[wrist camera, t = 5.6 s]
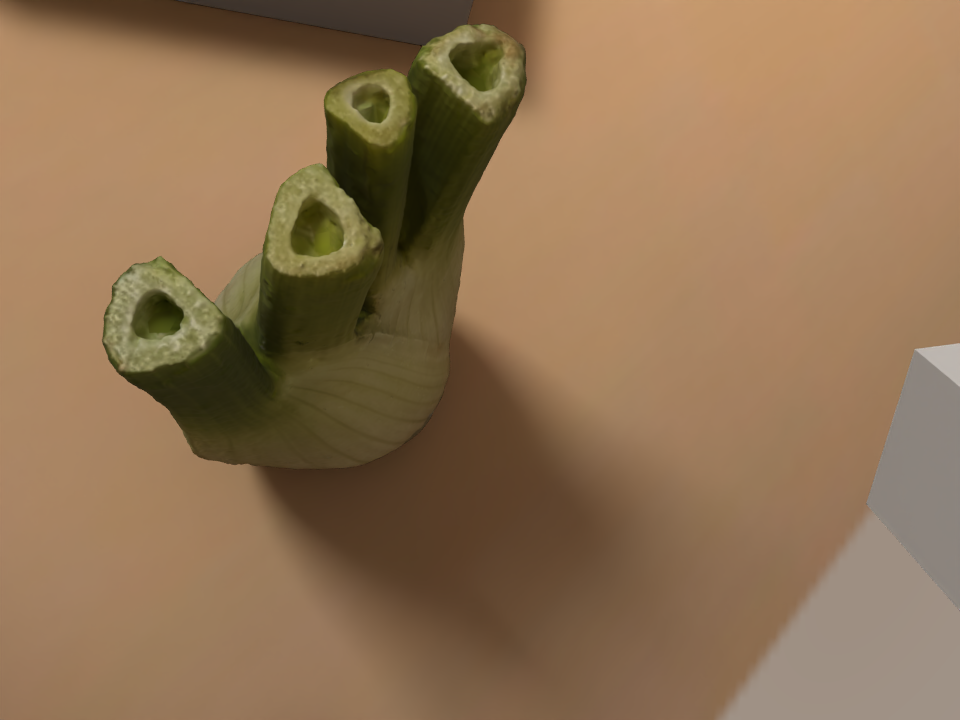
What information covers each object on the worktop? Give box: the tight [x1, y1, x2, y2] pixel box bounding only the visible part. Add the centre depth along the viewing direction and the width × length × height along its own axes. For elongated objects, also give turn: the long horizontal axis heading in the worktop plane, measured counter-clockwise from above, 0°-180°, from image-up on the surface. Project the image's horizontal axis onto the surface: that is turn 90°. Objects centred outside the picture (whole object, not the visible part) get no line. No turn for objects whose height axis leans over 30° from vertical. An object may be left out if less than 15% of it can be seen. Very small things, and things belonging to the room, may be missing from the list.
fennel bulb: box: [102, 24, 527, 469], centre depth 15 cm, size 6×5×12 cm
